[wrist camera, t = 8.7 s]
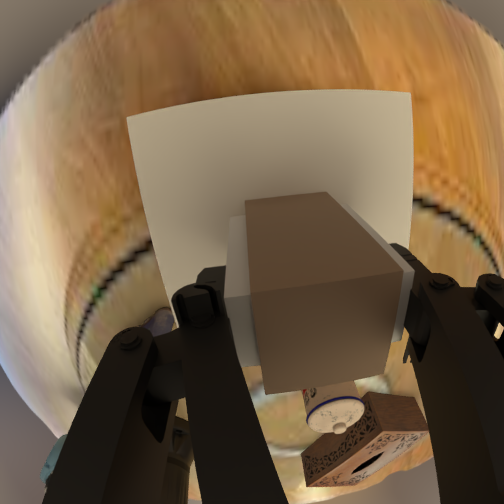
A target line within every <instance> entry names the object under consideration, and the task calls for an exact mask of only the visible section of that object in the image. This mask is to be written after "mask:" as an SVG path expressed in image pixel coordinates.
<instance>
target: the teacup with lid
mask: <svg viewBox="0 0 504 504" xmlns="http://www.w3.org/2000/svg"><path fill="white" fill-rule="evenodd" d="M302 394H303V399H304V403H305V408H306V413H307V418H306V421H307V424H308V425H309V427H310V428H311V429H312V430H314V431H317V432H323V433H328V432H334V433H335V434H341V433H343V432H345V431H346V429H347V427H349V426H351V425H353V424H354V423H355V422H357V421H358V420H359V419H360V418H361V416H362V415H363V413H364V402H363V401H362V400H361V399H360V396H359V393H358V390H357V388H356V385H355V382H354V381H349V382H344V383H339V384H334V385H328V386H323V387H317V388H311V389H305V390H302Z"/></svg>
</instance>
